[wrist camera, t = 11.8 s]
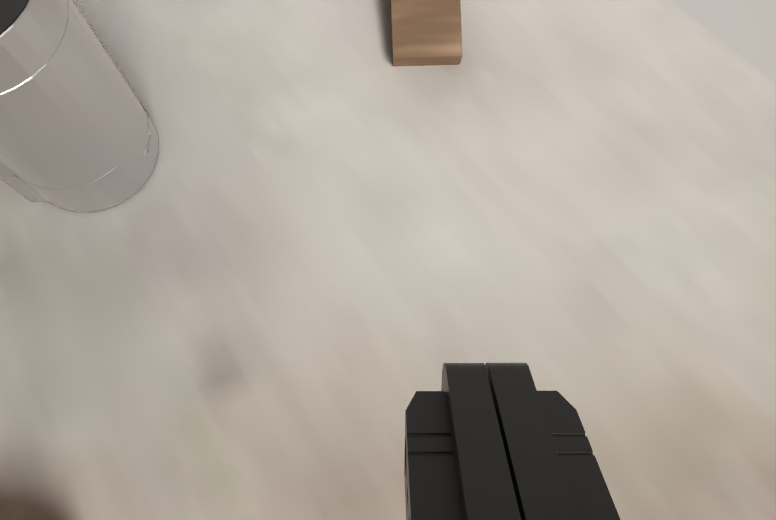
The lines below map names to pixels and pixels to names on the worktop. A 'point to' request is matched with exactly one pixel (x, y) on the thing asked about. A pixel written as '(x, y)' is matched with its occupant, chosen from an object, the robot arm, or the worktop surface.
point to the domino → (426, 32)
